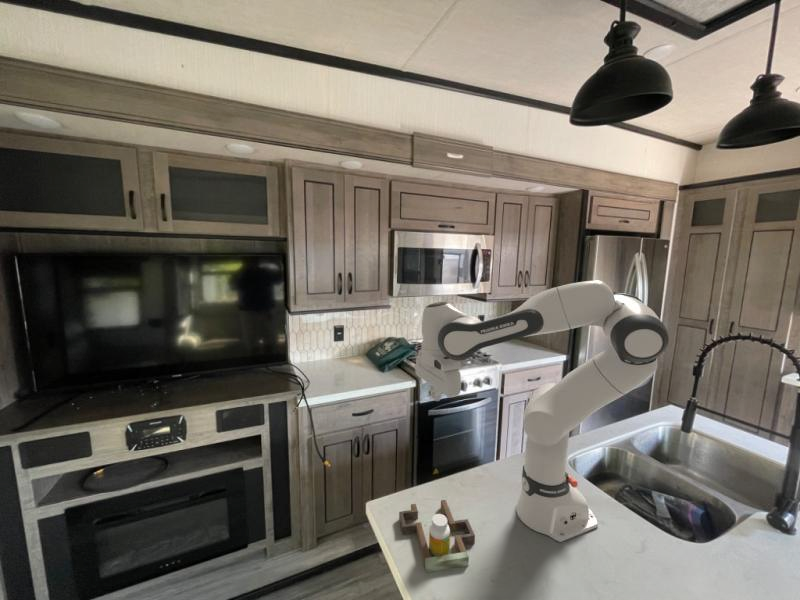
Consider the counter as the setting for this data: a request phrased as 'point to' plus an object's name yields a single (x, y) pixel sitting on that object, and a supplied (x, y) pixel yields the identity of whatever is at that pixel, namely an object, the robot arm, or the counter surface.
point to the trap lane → (460, 540)
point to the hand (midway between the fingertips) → (435, 399)
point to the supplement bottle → (439, 536)
